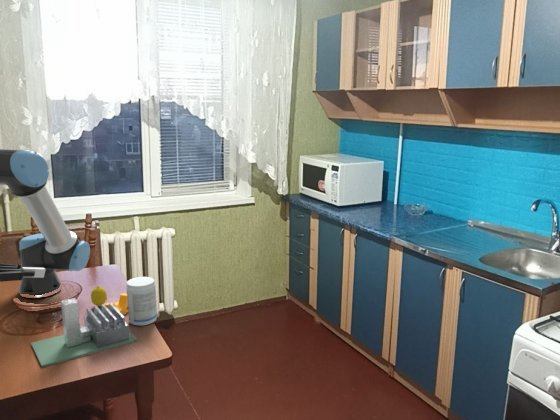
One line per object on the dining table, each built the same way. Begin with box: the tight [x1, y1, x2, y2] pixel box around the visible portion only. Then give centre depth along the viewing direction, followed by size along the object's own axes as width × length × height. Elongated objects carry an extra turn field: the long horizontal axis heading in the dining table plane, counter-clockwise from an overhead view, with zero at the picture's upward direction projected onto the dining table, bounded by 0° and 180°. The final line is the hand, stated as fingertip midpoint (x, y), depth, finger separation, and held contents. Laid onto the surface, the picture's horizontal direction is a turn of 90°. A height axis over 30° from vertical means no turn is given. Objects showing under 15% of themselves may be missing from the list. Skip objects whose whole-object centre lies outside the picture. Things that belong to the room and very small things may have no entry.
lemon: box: [90, 285, 108, 308], centre depth 181 cm, size 6×6×8 cm
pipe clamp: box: [104, 292, 128, 316], centre depth 173 cm, size 12×4×6 cm, turn 168°
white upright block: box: [60, 297, 91, 347], centre depth 152 cm, size 4×7×14 cm, turn 126°
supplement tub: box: [126, 276, 158, 326], centre depth 170 cm, size 10×10×15 cm
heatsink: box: [80, 301, 130, 348], centre depth 157 cm, size 14×13×8 cm
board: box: [30, 330, 138, 368], centre depth 155 cm, size 16×28×1 cm, turn 126°
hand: (43, 272), depth 150 cm, fingers closed
